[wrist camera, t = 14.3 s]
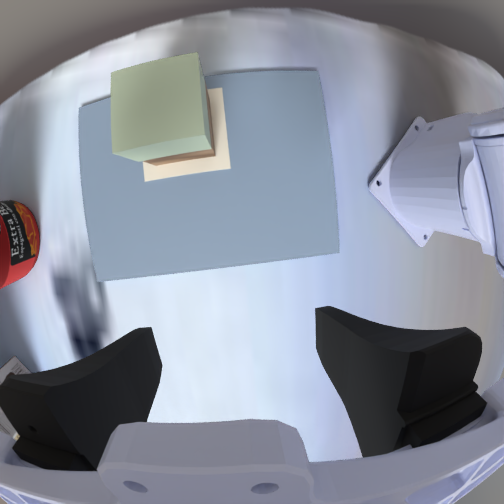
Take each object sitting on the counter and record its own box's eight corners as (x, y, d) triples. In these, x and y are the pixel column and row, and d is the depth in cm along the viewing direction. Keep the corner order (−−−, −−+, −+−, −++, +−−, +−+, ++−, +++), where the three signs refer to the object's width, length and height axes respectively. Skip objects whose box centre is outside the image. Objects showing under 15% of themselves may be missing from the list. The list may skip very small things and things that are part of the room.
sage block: (204, 81, 14) (197, 52, 10) (211, 148, 15) (204, 134, 11) (135, 95, 14) (111, 72, 10) (138, 161, 15) (112, 153, 11)
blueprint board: (316, 72, 19) (318, 70, 18) (337, 251, 22) (339, 253, 21) (81, 109, 18) (78, 107, 17) (99, 280, 21) (96, 282, 20)
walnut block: (209, 100, 18) (204, 79, 14) (215, 156, 19) (211, 146, 15) (151, 110, 18) (135, 93, 14) (155, 165, 19) (138, 159, 15)
